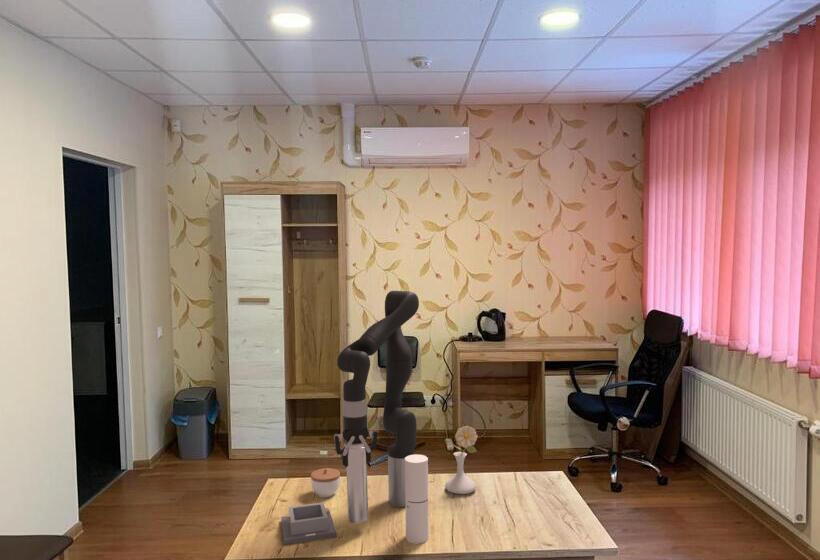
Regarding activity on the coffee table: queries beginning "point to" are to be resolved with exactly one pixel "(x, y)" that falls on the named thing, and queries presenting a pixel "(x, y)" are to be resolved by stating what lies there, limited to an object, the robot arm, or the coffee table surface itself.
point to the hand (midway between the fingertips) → (356, 464)
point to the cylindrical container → (416, 498)
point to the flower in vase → (462, 462)
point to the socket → (307, 524)
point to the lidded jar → (325, 482)
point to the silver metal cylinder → (357, 483)
